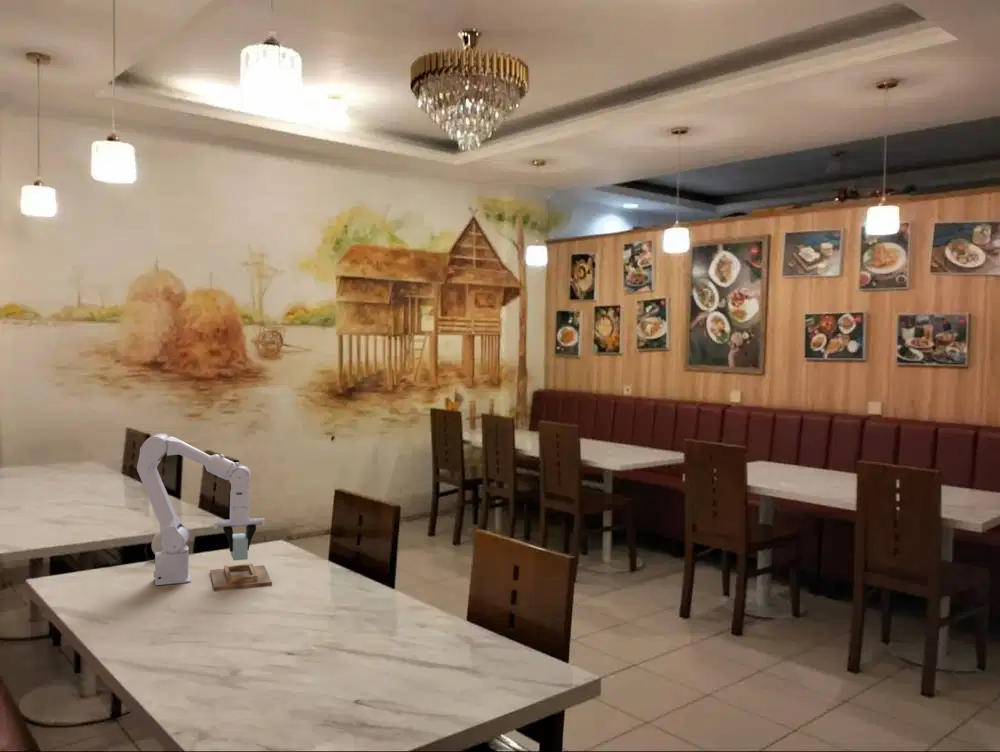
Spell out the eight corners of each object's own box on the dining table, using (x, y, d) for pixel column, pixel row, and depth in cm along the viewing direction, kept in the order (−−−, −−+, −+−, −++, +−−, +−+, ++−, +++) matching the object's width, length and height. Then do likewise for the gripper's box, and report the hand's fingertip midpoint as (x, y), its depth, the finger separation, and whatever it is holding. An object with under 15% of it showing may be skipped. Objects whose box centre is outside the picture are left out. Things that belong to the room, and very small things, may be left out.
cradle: (214, 590, 215) (214, 582, 215) (210, 573, 231) (210, 565, 231) (271, 585, 222) (271, 576, 222) (263, 568, 238) (264, 560, 238)
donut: (153, 561, 241) (154, 531, 241) (149, 559, 244) (149, 529, 243) (184, 556, 249) (184, 526, 249) (179, 553, 251) (179, 524, 251)
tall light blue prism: (233, 560, 223) (233, 540, 223) (230, 553, 231) (230, 534, 231) (247, 559, 225) (247, 539, 225) (244, 552, 233) (244, 533, 233)
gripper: (263, 501, 234) (262, 544, 234) (213, 504, 227) (212, 549, 228) (266, 506, 227) (265, 550, 228) (215, 509, 221) (214, 555, 222)
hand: (239, 550), depth 227 cm, fingers closed on tall light blue prism, 4 cm apart
